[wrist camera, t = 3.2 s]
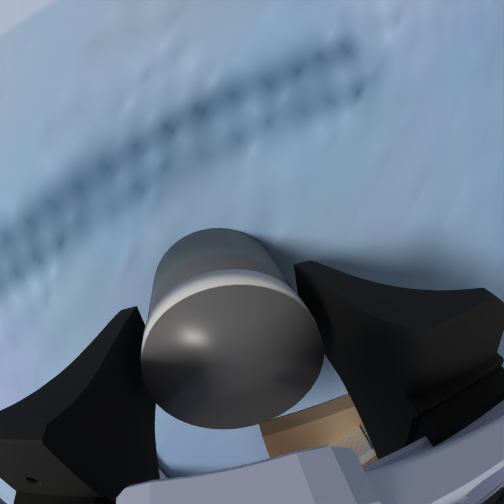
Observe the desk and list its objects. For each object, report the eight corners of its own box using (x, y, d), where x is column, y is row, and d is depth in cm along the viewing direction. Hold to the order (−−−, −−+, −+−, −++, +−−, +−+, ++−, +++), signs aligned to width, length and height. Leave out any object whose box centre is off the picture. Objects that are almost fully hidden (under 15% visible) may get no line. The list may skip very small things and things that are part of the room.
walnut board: (287, 503, 22) (290, 512, 21) (258, 423, 16) (262, 436, 15) (425, 446, 23) (430, 453, 22) (459, 342, 18) (468, 349, 17)
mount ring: (314, 496, 20) (321, 514, 18) (306, 444, 17) (316, 470, 15) (414, 453, 21) (425, 469, 19) (436, 387, 17) (452, 406, 16)
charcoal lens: (175, 351, 14) (178, 442, 9) (135, 246, 12) (107, 319, 7) (287, 322, 14) (329, 402, 10) (267, 212, 12) (317, 265, 8)
